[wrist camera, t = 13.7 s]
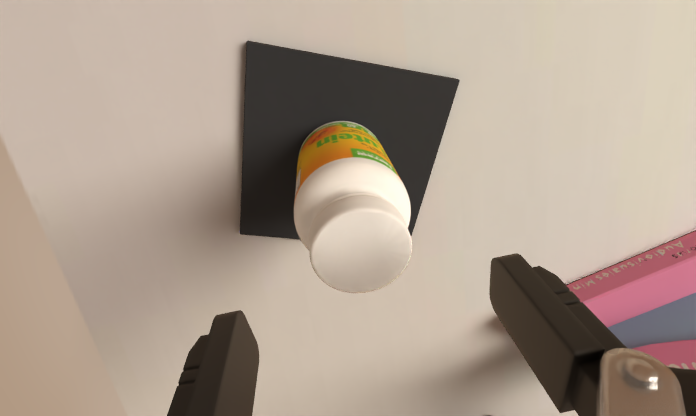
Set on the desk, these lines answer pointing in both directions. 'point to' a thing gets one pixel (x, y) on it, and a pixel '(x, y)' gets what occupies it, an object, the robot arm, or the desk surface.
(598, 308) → the trophy
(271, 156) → the mat
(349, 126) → the supplement bottle
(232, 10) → the desk surface
